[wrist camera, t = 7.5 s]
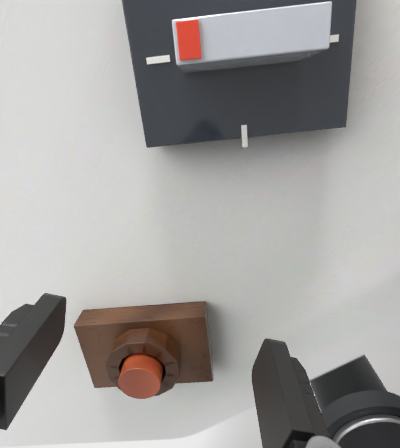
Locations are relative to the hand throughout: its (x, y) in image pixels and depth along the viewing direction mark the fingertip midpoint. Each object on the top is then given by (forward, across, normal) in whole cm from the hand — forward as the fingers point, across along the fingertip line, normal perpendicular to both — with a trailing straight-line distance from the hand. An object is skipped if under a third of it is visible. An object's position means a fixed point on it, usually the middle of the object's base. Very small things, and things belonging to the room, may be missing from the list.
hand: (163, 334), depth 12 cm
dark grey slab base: (+14, -1, -12) cm, 18 cm away
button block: (+14, +1, +14) cm, 20 cm away
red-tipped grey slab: (+11, -1, -12) cm, 16 cm away
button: (+10, +1, +14) cm, 17 cm away
